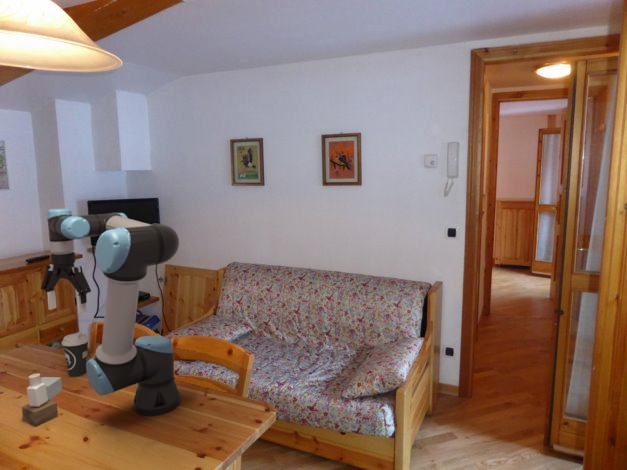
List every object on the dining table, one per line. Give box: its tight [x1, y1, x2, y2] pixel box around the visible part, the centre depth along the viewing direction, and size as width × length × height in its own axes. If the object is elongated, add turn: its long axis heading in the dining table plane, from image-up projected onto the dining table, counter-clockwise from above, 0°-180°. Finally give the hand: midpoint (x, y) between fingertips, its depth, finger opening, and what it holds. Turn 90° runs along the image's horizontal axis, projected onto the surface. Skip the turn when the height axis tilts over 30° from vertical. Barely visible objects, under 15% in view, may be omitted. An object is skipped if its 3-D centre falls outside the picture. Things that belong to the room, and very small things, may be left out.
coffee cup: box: [61, 332, 90, 378], centre depth 177 cm, size 10×10×15 cm
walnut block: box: [21, 399, 59, 428], centre depth 144 cm, size 7×7×5 cm
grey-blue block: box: [41, 376, 63, 400], centre depth 160 cm, size 7×7×5 cm
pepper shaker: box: [26, 373, 48, 407], centre depth 144 cm, size 4×4×10 cm
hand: (67, 310), depth 163 cm, fingers open, 13 cm apart
